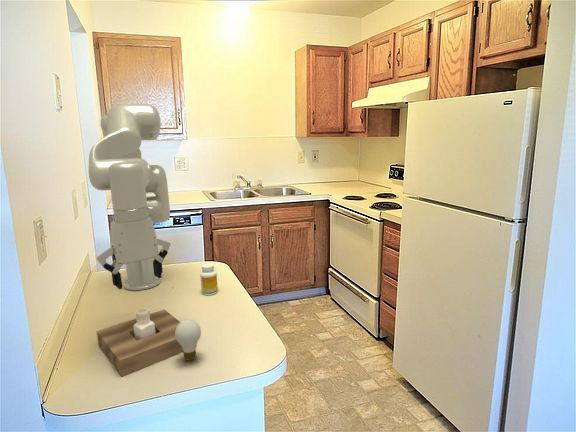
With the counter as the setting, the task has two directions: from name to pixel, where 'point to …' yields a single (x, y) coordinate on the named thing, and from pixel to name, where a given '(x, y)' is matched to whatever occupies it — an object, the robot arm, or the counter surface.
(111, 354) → the socket block
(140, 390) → the counter surface
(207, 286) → the supplement bottle
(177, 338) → the light bulb
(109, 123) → the robot arm
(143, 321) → the pepper shaker
